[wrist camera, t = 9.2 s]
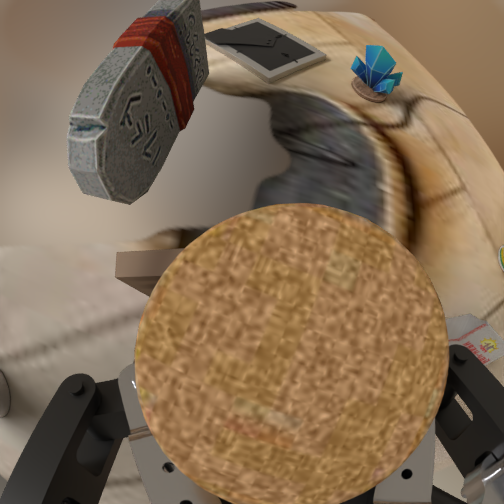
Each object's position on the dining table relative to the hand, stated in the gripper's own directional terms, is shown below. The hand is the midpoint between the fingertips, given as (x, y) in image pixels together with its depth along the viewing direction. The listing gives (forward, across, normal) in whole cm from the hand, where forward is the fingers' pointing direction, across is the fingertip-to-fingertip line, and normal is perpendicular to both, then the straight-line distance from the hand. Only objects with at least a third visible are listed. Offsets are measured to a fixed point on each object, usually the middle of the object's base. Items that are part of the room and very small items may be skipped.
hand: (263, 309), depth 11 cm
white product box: (+13, -28, +20) cm, 37 cm away
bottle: (+4, 0, +6) cm, 8 cm away
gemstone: (+45, -25, -12) cm, 53 cm away
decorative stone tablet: (+37, +12, -4) cm, 39 cm away
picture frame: (+55, -6, -21) cm, 59 cm away
